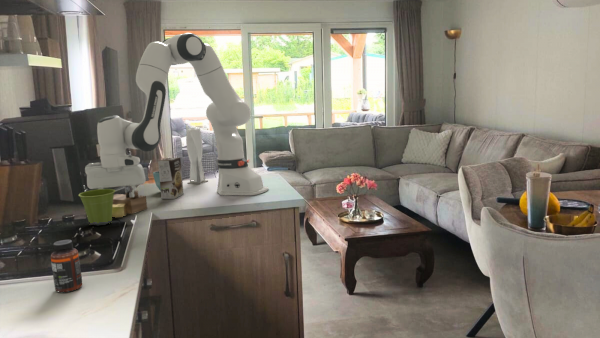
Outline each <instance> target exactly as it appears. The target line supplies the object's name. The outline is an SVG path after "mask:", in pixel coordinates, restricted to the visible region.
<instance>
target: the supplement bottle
mask: <svg viewBox="0 0 600 338" xmlns="http://www.w3.org/2000/svg"><path fill="white" fill-rule="evenodd" d="M53 249H54V250H53V251H52V252H51V254H50V261H51V262H50V263H51V269H52V276H53V284H54V290H55V291H56V292H57V291H59V292H58V293H61V292H65V293H69V292H68V291H71V292H74V291H73V290H75V291H77V290H79V289H80V288H82V286H83V279H82V278H83V277H82V271H81V270H82V269H81V263H80V255H79V250H78V249H76V248H74V245H73V241H72V240H71V239H63V240H58V241H55V242H54V243H53ZM76 289H77V290H76Z"/></svg>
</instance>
